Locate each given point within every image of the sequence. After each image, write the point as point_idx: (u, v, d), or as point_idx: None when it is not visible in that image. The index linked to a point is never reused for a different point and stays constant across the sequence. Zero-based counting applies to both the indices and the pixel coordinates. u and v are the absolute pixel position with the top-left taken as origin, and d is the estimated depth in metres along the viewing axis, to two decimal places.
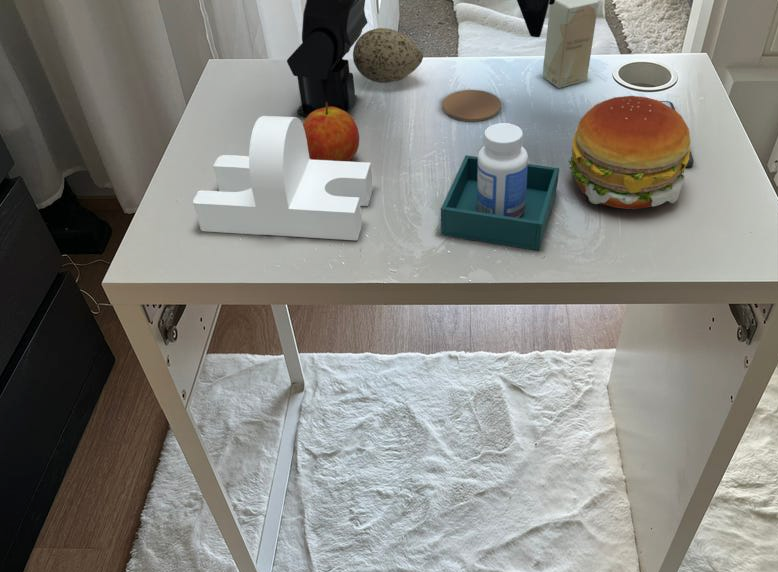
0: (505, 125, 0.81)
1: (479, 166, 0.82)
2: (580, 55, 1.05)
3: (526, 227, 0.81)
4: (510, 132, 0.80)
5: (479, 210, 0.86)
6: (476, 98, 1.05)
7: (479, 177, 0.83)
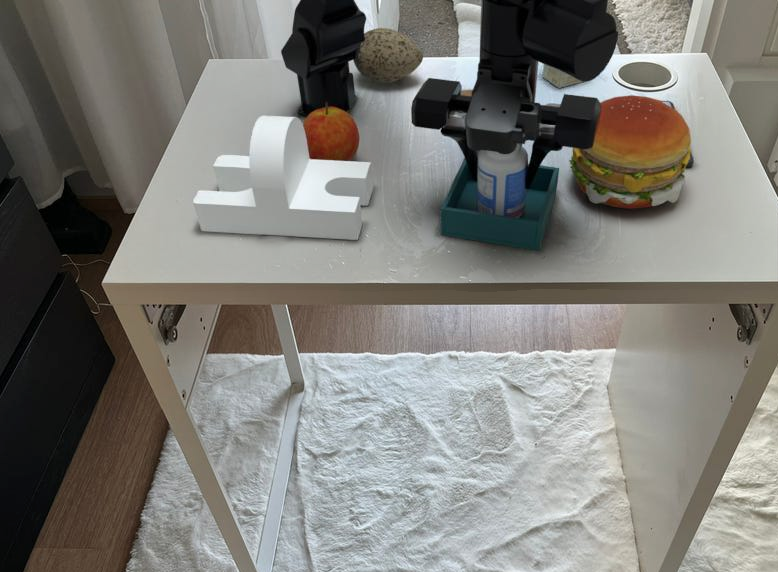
0: None
1: (479, 166, 0.82)
2: None
3: (526, 227, 0.81)
4: None
5: (479, 210, 0.86)
6: None
7: (479, 177, 0.83)
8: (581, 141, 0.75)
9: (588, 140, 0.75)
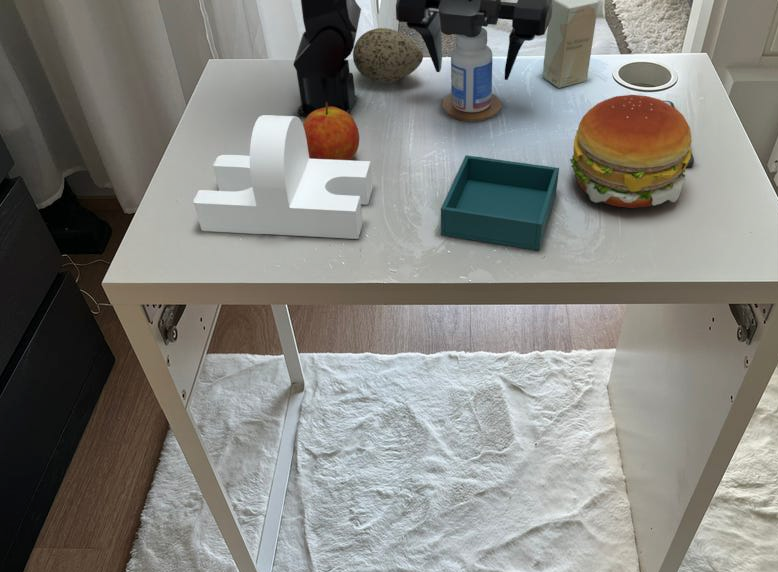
0: None
1: (452, 62, 0.99)
2: (580, 55, 1.05)
3: (526, 227, 0.81)
4: None
5: (453, 102, 1.03)
6: None
7: (452, 72, 1.00)
8: (535, 28, 0.92)
9: (540, 27, 0.91)
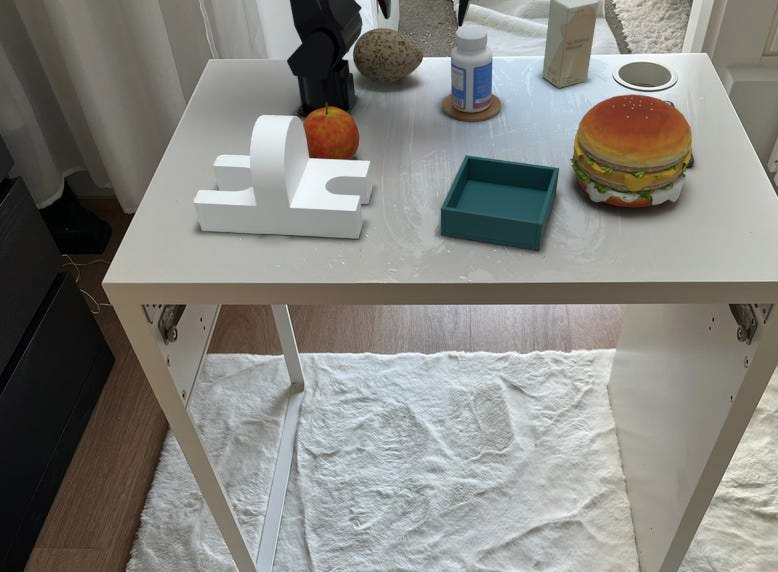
0: (473, 27, 0.98)
1: (452, 62, 0.99)
2: (580, 55, 1.05)
3: (526, 227, 0.81)
4: (477, 32, 0.97)
5: (453, 102, 1.03)
6: None
7: (452, 72, 1.00)
8: None
9: None
